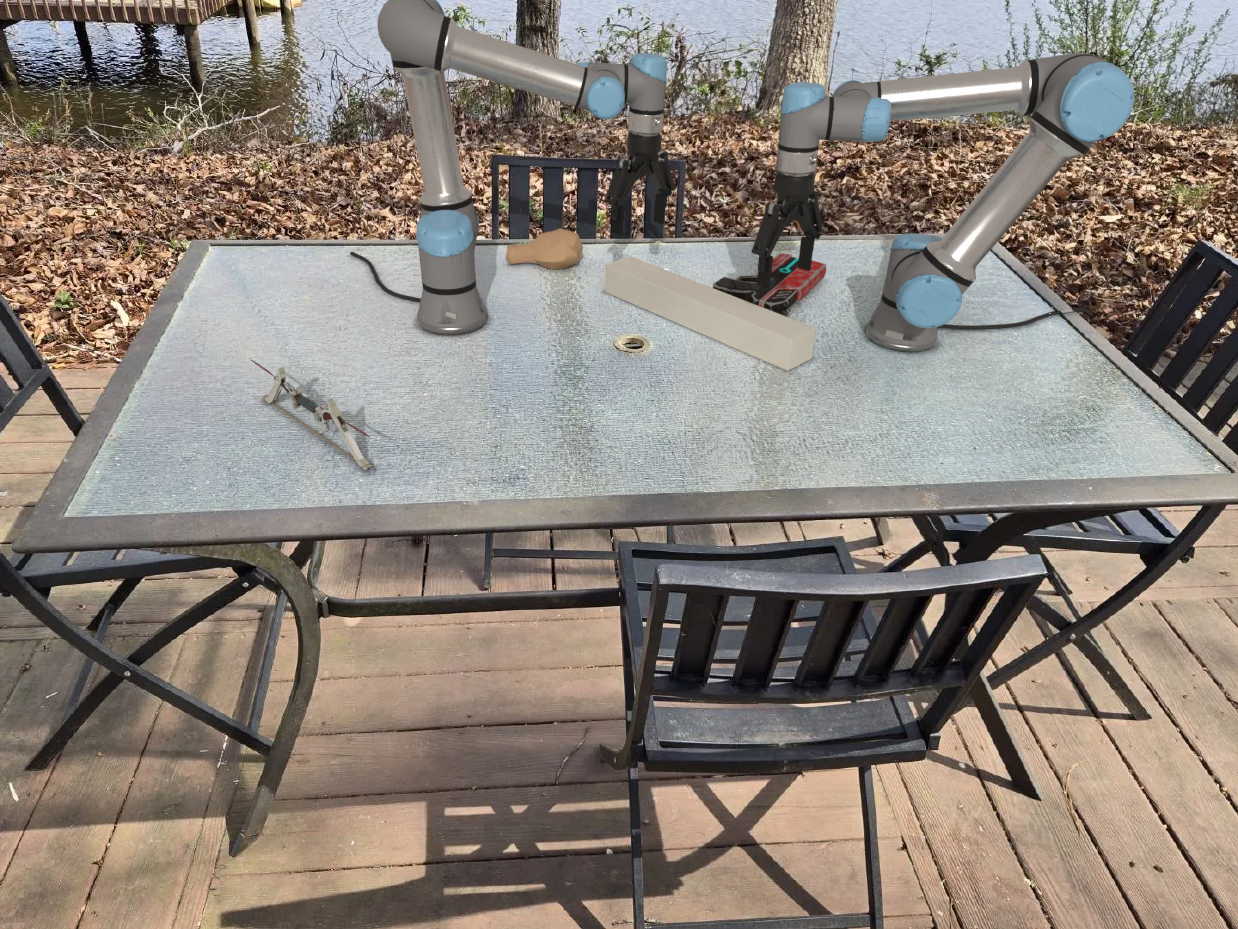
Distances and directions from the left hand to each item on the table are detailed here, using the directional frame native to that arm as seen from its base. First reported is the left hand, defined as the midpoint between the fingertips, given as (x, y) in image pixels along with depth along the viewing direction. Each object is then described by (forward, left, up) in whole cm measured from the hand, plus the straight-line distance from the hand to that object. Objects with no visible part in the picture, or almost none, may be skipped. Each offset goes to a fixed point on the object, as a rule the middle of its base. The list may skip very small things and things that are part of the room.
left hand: (638, 228), depth 202 cm
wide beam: (+21, 0, -17) cm, 27 cm away
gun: (+20, +27, -17) cm, 38 cm away
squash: (-30, -3, -17) cm, 35 cm away
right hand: (+41, +1, 0) cm, 41 cm away
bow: (+6, -87, -17) cm, 89 cm away
